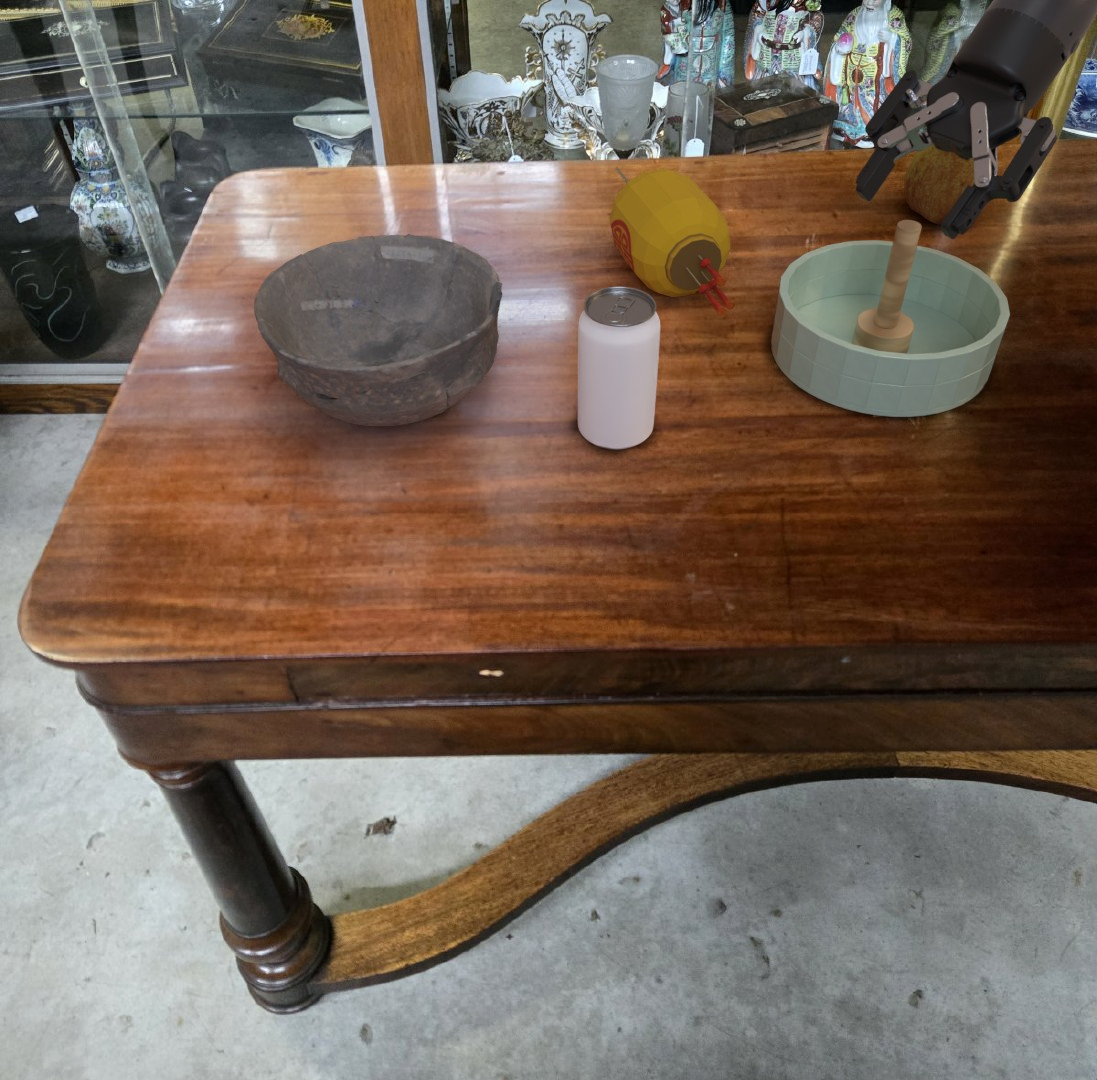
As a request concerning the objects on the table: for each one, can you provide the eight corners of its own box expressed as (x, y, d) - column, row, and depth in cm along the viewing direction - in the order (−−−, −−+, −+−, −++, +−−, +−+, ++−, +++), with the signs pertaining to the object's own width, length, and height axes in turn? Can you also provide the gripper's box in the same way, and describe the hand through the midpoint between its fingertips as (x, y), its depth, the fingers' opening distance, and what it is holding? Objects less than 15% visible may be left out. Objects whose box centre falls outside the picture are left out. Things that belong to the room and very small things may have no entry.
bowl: (226, 406, 91) (198, 307, 84) (388, 304, 103) (375, 210, 96) (398, 499, 82) (382, 397, 75) (555, 376, 94) (553, 278, 87)
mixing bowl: (1008, 325, 99) (1027, 268, 94) (964, 441, 86) (985, 382, 82) (807, 278, 105) (817, 223, 101) (741, 380, 93) (749, 322, 89)
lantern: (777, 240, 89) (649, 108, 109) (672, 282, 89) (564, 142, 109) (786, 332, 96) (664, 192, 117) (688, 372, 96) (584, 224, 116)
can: (566, 441, 87) (565, 318, 79) (592, 398, 91) (595, 277, 83) (639, 459, 85) (646, 335, 77) (663, 414, 90) (672, 292, 81)
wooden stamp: (913, 338, 96) (946, 218, 88) (900, 367, 93) (933, 244, 85) (860, 325, 98) (887, 206, 89) (845, 353, 95) (872, 231, 86)
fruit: (942, 190, 119) (971, 82, 110) (997, 224, 113) (1031, 113, 104) (880, 205, 116) (904, 96, 108) (933, 241, 110) (962, 129, 102)
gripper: (939, -16, 83) (820, 163, 86) (1103, 30, 75) (965, 226, 78) (962, 38, 89) (850, 204, 92) (1116, 86, 81) (988, 266, 84)
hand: (903, 214), depth 85 cm, fingers open, 8 cm apart
